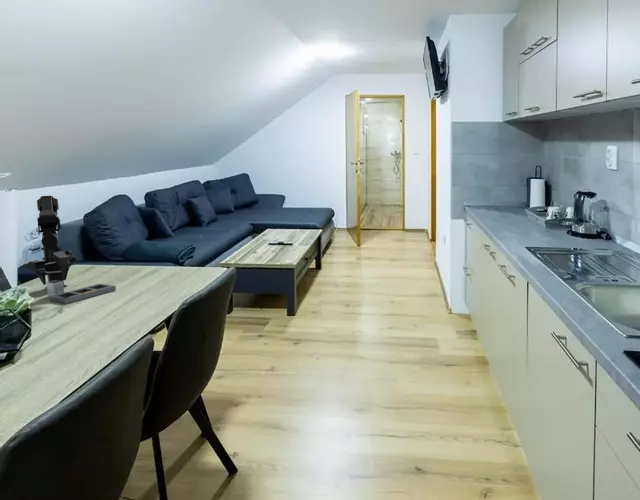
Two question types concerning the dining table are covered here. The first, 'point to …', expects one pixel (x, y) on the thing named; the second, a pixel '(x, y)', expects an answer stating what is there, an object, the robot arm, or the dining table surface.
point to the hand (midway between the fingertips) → (54, 282)
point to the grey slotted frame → (82, 293)
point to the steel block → (55, 287)
